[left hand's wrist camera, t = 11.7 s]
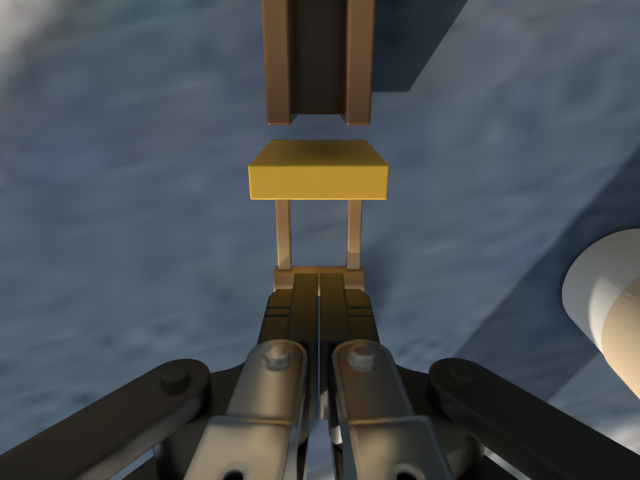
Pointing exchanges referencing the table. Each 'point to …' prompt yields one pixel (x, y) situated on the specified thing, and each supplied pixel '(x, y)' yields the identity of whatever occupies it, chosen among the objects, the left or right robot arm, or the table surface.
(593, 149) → the table surface
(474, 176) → the table surface
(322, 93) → the drawer
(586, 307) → the coffee cup
